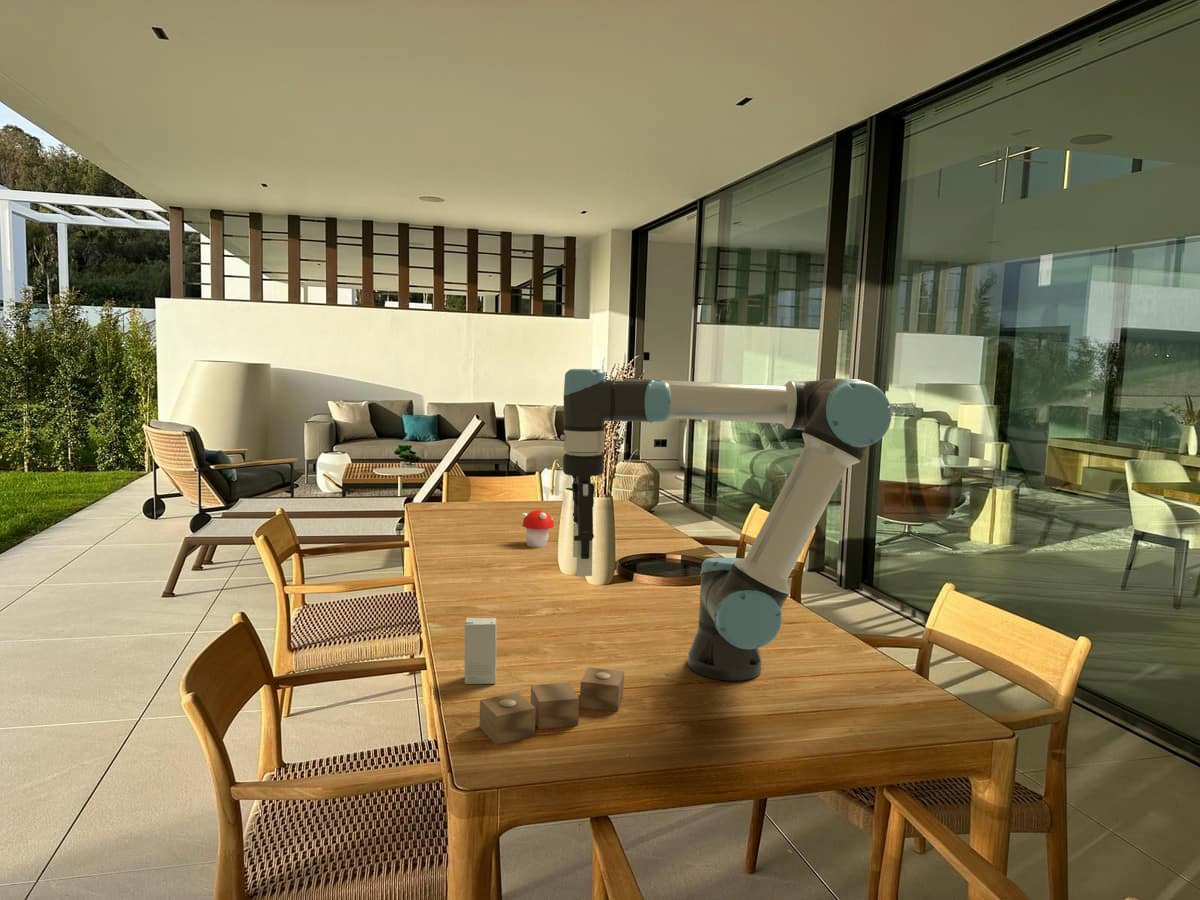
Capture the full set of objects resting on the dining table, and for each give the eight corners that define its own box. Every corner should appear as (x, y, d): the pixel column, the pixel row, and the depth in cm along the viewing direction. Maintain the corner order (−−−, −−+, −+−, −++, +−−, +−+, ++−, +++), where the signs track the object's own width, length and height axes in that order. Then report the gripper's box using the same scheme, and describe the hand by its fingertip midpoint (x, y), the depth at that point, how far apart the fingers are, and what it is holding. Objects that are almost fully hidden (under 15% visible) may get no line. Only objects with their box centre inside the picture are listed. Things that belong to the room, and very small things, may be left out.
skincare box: (496, 676, 158) (498, 616, 156) (495, 685, 153) (497, 624, 152) (464, 676, 157) (466, 616, 156) (463, 685, 152) (464, 624, 151)
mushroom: (518, 541, 272) (519, 507, 271) (549, 540, 275) (550, 506, 274) (524, 549, 262) (525, 513, 261) (557, 548, 265) (558, 512, 264)
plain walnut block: (568, 708, 145) (569, 682, 144) (578, 726, 138) (579, 698, 137) (530, 712, 143) (531, 685, 142) (538, 729, 136) (539, 701, 135)
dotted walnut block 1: (516, 719, 139) (517, 691, 139) (534, 736, 133) (535, 706, 133) (479, 727, 136) (480, 698, 135) (496, 745, 130) (496, 715, 129)
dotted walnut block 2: (623, 696, 151) (624, 670, 150) (617, 712, 144) (619, 684, 143) (586, 692, 152) (587, 666, 151) (579, 708, 145) (580, 680, 144)
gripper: (561, 445, 159) (559, 549, 162) (565, 461, 135) (564, 584, 137) (598, 445, 160) (596, 549, 162) (610, 461, 135) (608, 584, 138)
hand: (582, 565), depth 150 cm, fingers open, 13 cm apart
